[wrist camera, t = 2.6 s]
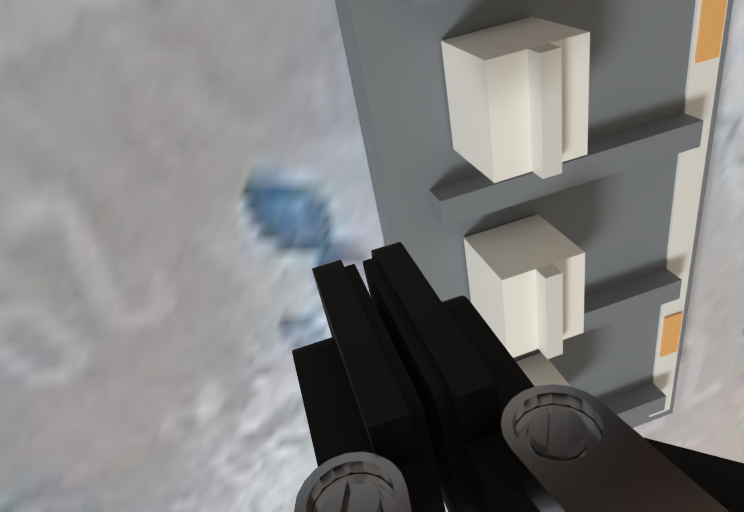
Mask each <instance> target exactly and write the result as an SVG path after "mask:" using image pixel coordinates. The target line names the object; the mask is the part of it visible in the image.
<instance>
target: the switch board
mask: <svg viewBox="0 0 744 512" xmlns="http://www.w3.org/2000/svg"><path fill="white" fill-rule="evenodd" d="M335 3H336V8H337V12H338V17H339V22H340V27H341V32H342V37H343V42H344V47H345V52H346V57H347V61H348V66H349V71H350V76H351V81H352V86H353V91H354V96H355V101H356V106H357V110H358V115H359V120H360V125H361V130H362V135H363V140H364V145H365V150H366V155H367V159H368V164H369V169H370V174H371V179H372V184H373V189H374V194H375V199H376V204H377V208H378V213H379V218H380V223H381V228H382V233H383V238H384V243H385V246H387V245H391V244H394V243H397V242H401V243H402V244H403V245H404V247H405V248H406V250H407V251H408V253H409V254H410V256H411V257H412V259H413V260H414V262H415V263H416V265H417V266H418V267H419V269H420V270H421V272H422V273H423V275H424V276H425V278H426V279H427V281H428V282H429V284H430V285H431V287H432V288H433V290H434V291H435V293H436V294H437V296H438V297H439V299H440V300H441V301H442V302H443V301H446V300H449V299H452V298H455V297H458V296H461V295H463V296H466V297H467V298H468V299H469V300H470V302H471V298H470V289H469V280H468V272H467V263H466V254H465V245H464V238H465V237H468V236H471V235H474V234H477V233H480V232H483V231H487V230H490V229H493V228H496V227H499V226H502V225H505V224H508V223H512V222H515V221H518V220H521V219H524V218H527V217H530V216H533V215H537V214H539V215H540V216H541V217H542V218H544V219H545V220H546V221H547V222H548V223H550V224H551V225H552V226H553V227H555V228H556V229H557V230H558V231H559V232H561V233H562V234H563V235H564V236H566V237H567V238H568V239H569V240H571V241H572V242H573V243H574V244H575V245H577V246H578V247H579V248H580V249H582V250H583V251H584V252H585V287H584V333H581V334H578V335H576V336H573V337H570V338H567V339H564V340H563V354H561V355H558V356H555V357H553V358H550V359H548V360H549V361H550V362H551V363H552V364H553V366H554V367H555V368H556V369H557V370H558V371H559V373H560V374H561V375H562V376H563V377H564V379H565V380H566V381H567V382H568V383H569V385H570V386H572V387H574V388H577V389H580V390H583V391H586V392H588V393H589V394H591V395H592V396H594V397H595V398H597V399H598V400H600V401H601V402H603V403H604V404H605V405H606V406H607V407H608V408H610V409H611V410H612V411H613V412H614V413H615V414H616V415H618V416H619V417H620V418H621V419H622V420H623V421H625V422H626V423H627V424H628V425H629V426H630V427H632V428H634V427H636V426H639V425H642V424H644V423H647V422H649V421H652V420H655V419H657V418H660V417H662V416H665V415H667V414H670V413H672V412H673V405H674V398H675V391H676V385H677V378H678V371H679V364H680V357H681V351H682V344H683V337H684V330H685V323H686V317H687V310H688V303H689V296H690V290H691V283H692V276H693V269H694V262H695V256H696V249H697V242H698V235H699V228H700V222H701V215H702V208H703V201H704V194H705V188H706V181H707V174H708V167H709V161H710V154H711V147H712V140H713V133H714V127H715V120H716V113H717V106H718V99H719V93H720V86H721V79H722V72H723V65H724V59H725V52H726V45H727V38H728V32H729V25H730V18H731V11H732V4H733V0H335ZM529 17H535V18H539V19H543V20H547V21H551V22H555V23H558V24H562V25H566V26H570V27H574V28H577V29H581V30H585V31H589V32H590V56H589V102H588V148H587V155H584V156H581V157H577V158H574V159H571V160H568V161H564V162H562V173H561V174H558V175H554V176H551V177H548V178H545V179H542V178H541V177H539V176H538V175H537V174H535V173H534V172H529V173H525V174H522V175H519V176H516V177H512V178H509V179H506V180H503V181H499V182H496V183H494V182H493V181H491V180H490V179H489V178H488V177H487V176H485V175H484V174H483V173H482V172H481V171H479V170H478V169H477V168H476V167H474V166H473V165H472V164H471V163H470V162H468V161H467V160H466V159H465V158H464V157H462V156H461V155H460V154H459V153H458V152H456V151H455V150H454V149H453V141H452V132H451V123H450V115H449V106H448V97H447V88H446V80H445V71H444V62H443V53H442V45H441V41H442V40H446V39H450V38H453V37H457V36H461V35H465V34H469V33H472V32H476V31H480V30H484V29H487V28H491V27H495V26H499V25H502V24H506V23H510V22H514V21H517V20H521V19H525V18H529ZM538 353H541V351H540V350H539V349H536V350H533V351H531V352H528V353H525V354H522V355H519V356H517V357H514V360H515V361H519V360H522V359H524V358H527V357H530V356H533V355H536V354H538Z"/></svg>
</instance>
